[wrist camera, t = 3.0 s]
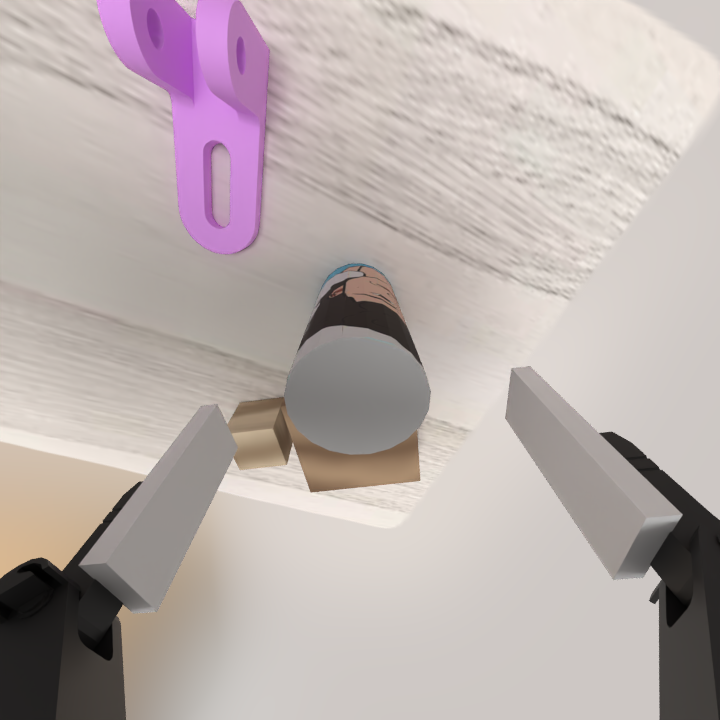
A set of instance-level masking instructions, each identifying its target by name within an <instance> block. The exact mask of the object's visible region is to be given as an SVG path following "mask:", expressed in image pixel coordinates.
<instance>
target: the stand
mask: <svg viewBox="0 0 720 720" xmlns="http://www.w3.org/2000/svg"><path fill="white" fill-rule="evenodd" d="M281 410H282V413H283V415H284V418H285V421H286V424H287V427H288V430H289V432H290V435H291V438H292V441H293V444H294V447H295V449H296V452H297V455H298V458H299V461H300V463H301V466H302V469H303V472H304V475H305V478H306V480H307V483H308V486H309V489H310V492H319V491H329V490H338V489H348V488H357V487H367V486H376V485H386V484H395V483H404V482H414V481H420V469H419V453H418V438H417V430H416V431H415V432H414V433H413V434H412V435H411V436H410V437H409V438H408V439H407V440H405V441H403V442H401V443H399V444H397V445H396V446H394V447H392V448H390V449H387V450H383V451H379V452H376V453H372V454H353V455H349V454H344V453H339V452H334V451H329V450H327V449H325V448H323V447H321V446H319V445H317V444H314V443H312V442H311V441H310V440H309V439H307V438H306V437H305V436H304V435H303V434H302V433H300V432H299V431H298V430H297V429H296V427H295V425H294V424H293V422H292V421H291V419H290V417H289V416H288V414H287V409H286V404H285V399H284V398H283V401H282V404H281Z"/></svg>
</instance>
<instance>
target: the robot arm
mask: <svg viewBox="0 0 720 720" xmlns="http://www.w3.org/2000/svg"><path fill="white" fill-rule="evenodd" d="M505 418H506V420H507V422H508V423H509V424H510V426H511V427H512V429H513V430H514V432H515V433H516V435H517V436H518V438H519V439H520V441H521V442H522V444H523V445H524V447H525V448H526V450H527V451H528V453H529V454H530V456H531V457H532V459H533V460H534V462H535V463H536V465H537V466H538V468H539V469H540V471H541V472H542V474H543V475H544V477H545V478H546V480H547V481H548V483H549V484H550V486H551V487H552V489H553V490H554V492H555V493H556V495H557V496H558V498H559V499H560V501H561V502H562V504H563V505H564V507H565V508H566V510H567V511H568V513H569V514H570V516H571V517H572V519H573V520H574V522H575V523H576V525H577V526H578V528H579V529H580V531H581V532H582V534H583V535H584V536H585V538H586V540H587V541H588V543H589V544H590V546H591V547H592V549H593V550H594V552H595V553H596V554H597V556H598V557H599V559H600V560H601V562H602V564H603V565H604V567H605V568H606V569H607V571H608V573H609V574H610V576H611V577H612V579H614V580H615V579H628V578H643V577H644V575H645V573H646V572H647V571H648V569H649V567H650V566H652V567H653V569H654V570H655V571H656V572H657V574H658V575H659V576H660V577H661V579H662V580H661V581H660V583H659V584H658V586H657V587H656V588H655V590H654V591H653V593H652V595H651V597H650V600H649V601H650V602H652V603H654V604H655V603H656V602H657V601H658V599H659V681H660V682H659V684H660V685H659V686H660V688H659V689H660V690H659V692H660V720H720V520H719V519H717V518H716V517H715V516H713V515H712V514H711V513H710V512H709V511H708V510H707V509H706V508H704V507H703V506H702V505H701V504H700V503H699V502H698V501H696V500H695V499H694V498H693V497H692V496H691V495H690V494H689V493H688V492H686V491H685V490H684V489H683V488H682V487H681V486H680V485H678V484H677V483H676V482H675V481H674V480H673V479H672V478H670V476H668V475H667V474H666V473H665V472H664V471H663V470H660V469H659V467H658V466H657V465H656V464H655V463H654V462H653V461H652V460H650V459H647V457H646V455H644V454H643V452H641V451H640V450H639V449H638V448H637V447H636V446H635V445H634V444H632V443H631V442H629V441H628V440H626V439H624V438H622V437H621V436H618V435H617V434H615V433H613V432H605V433H598V432H597V431H596V430H595V429H594V428H593V427H592V426H591V425H590V424H589V423H588V422H587V421H586V420H585V419H584V418H583V417H582V416H581V415H580V414H579V413H577V411H576V410H575V409H573V408H572V407H571V406H570V405H569V404H568V403H567V402H566V401H565V400H564V399H563V398H562V397H561V396H560V395H559V394H558V393H557V392H556V391H555V390H554V389H553V388H552V387H551V386H550V385H549V384H548V383H547V382H545V380H544V379H543V378H542V377H541V376H539V374H537V373H536V372H535V371H534V370H533V369H532V368H531V367H530V366H528V367H519V368H511V377H510V385H509V393H508V401H507V409H506V417H505ZM237 449H238V446H237V444H236V442H235V440H234V438H233V436H232V434H231V432H230V430H229V428H228V425H227V423H226V421H225V419H224V417H223V415H222V413H221V411H220V409H219V407H218V405H217V404H214V405H206V406H201V407H200V409H199V410H198V411H197V412H196V414H195V415H194V416H193V418H192V419H191V420H190V421H189V423H188V424H187V425H186V427H185V428H184V429H183V431H182V432H181V433H180V434H179V436H178V437H177V438H176V440H175V441H174V442H173V443H172V445H171V446H170V447H169V449H168V450H167V451H166V453H165V454H164V455H163V456H162V458H161V459H160V460H159V462H158V463H157V464H156V465H155V467H154V468H153V469H152V471H151V472H150V473H149V475H148V476H147V477H146V479H145V480H144V481H142V482H138V483H137V484H136V485H135V486H133V487H132V488H131V489H130V490H129V491H128V492H126V493H125V494H124V495H123V496H122V498H121V499H120V500H119V502H118V503H117V504H116V505H115V506H114V508H113V510H112V512H109V514H108V515H107V516H106V517H105V519H104V520H103V523H102V524H100V525H99V526H98V527H97V529H96V530H95V531H94V533H93V534H92V535H91V536H90V537H89V539H88V540H87V541H86V542H85V544H84V545H83V546H82V547H81V549H80V550H79V551H78V553H77V554H76V555H75V556H74V557H73V559H72V560H71V561H70V562H69V564H68V565H67V566H66V567H65V568H64V570H63V571H60V570H59V569H58V568H57V567H56V566H55V565H53V564H52V563H51V562H50V561H48V560H47V559H44V558H36V559H31V560H30V561H27V562H25V563H23V564H21V565H19V566H18V567H16V568H14V569H13V570H11V571H10V572H8V573H7V574H5V575H4V576H3V577H2V578H1V579H0V720H126V712H125V694H124V675H123V657H122V638H121V623H120V621H119V618H118V617H117V616H116V615H117V614H118V612H119V610H120V609H121V607H122V605H124V606H126V607H127V608H128V609H129V610H130V611H131V612H132V613H146V612H157V611H158V609H159V607H160V605H161V603H162V601H163V599H164V597H165V595H166V593H167V591H168V589H169V587H170V585H171V583H172V581H173V579H174V577H175V574H176V572H177V570H178V568H179V566H180V564H181V562H182V560H183V558H184V556H185V554H186V552H187V550H188V548H189V546H190V544H191V542H192V540H193V538H194V536H195V534H196V532H197V530H198V528H199V526H200V524H201V522H202V520H203V518H204V516H205V514H206V511H207V510H208V508H209V506H210V504H211V501H212V500H213V498H214V495H215V493H216V491H217V489H218V487H219V485H220V483H221V481H222V479H223V477H224V475H225V473H226V471H227V469H228V467H229V465H230V463H231V461H232V459H233V457H234V455H235V453H236V451H237Z"/></svg>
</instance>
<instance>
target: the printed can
mask: <svg viewBox="0 0 720 720" xmlns="http://www.w3.org/2000/svg"><path fill="white" fill-rule="evenodd" d="M430 394H431V391H430V387H429V384H428V380H427V377H426V373H425V371H424V368H423V366H422V363H421V361H420V358H419V356H418V353H417V351H416V348H415V345H414V343H413V340H412V338H411V335H410V333H409V330H408V328H407V325H406V323H405V320H404V318H403V315H402V313H401V310H400V307H399V305H398V302H397V300H396V297H395V295H394V292H393V290H392V287H391V285H390V283H389V281H388V280H387V279H386V277H385V276H384V275H383V274H382V273H381V272H380V271H378V270H377V269H375V268H374V267H371V266H368V265H365V264H348V265H345V266H343V267H340V268H338V269H336V270H335V271H334V272H333V273H332V274H330V275H329V276H328V278H327V279H326V281H325V283H324V284H323V286H322V288H321V291H320V294H319V296H318V299H317V302H316V304H315V307H314V309H313V312H312V315H311V317H310V320H309V323H308V325H307V328H306V331H305V333H304V336H303V338H302V341H301V344H300V346H299V349H298V352H297V354H296V357H295V360H294V362H293V365H292V367H291V370H290V373H289V375H288V379H287V384H286V388H285V393H284V399H285V404H286V409H287V414H288V416H289V417H290V419H291V421H292V422H293V424H294V425H295V427H296V429H297V430H298V431H299V432H300V433H302V434H303V435H304V436H305V437H306V438H307V439H309V440H310V441H311V442H312V443H314V444H317V445H319V446H321V447H323V448H325V449H327V450H329V451H334V452H339V453H344V454H349V455H353V454H372V453H376V452H379V451H383V450H387V449H390V448H392V447H394V446H396V445H397V444H399V443H401V442H403V441H405V440H407V439H408V438H409V437H410V436H411V435H412V434H413V433H414V432H415V431H416V430H417V429H418V428H419V427H420V426H421V424H422V422H423V420H424V418H425V416H426V414H427V412H428V410H429V403H430Z"/></svg>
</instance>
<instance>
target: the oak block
mask: <svg viewBox="0 0 720 720" xmlns="http://www.w3.org/2000/svg"><path fill="white" fill-rule="evenodd" d="M283 398H284V397H282V398H274V399H266V400H258V401H250V402H242V403H239V405H238V407H237V409H236V411H235V412H234V414H233V416H232V418H231V419H230V421H229V423H228V428H229V430H230V432H231V434H232V436H233V438H234V440H235V442H236V444H237V446H238V449H237V451H236V453H235V455H234V459H235V461H236V463H237V465H238V467H239V469H240V470H245V469H254V468H263V467H272V466H281V465H287V462H288V458H289V454H290V450H291V447H292V443H293V441H292V438H291V435H290V432H289V430H288V427H287V424H286V421H285V418H284V415H283V413H282V410H281V404H282V401H283Z"/></svg>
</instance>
